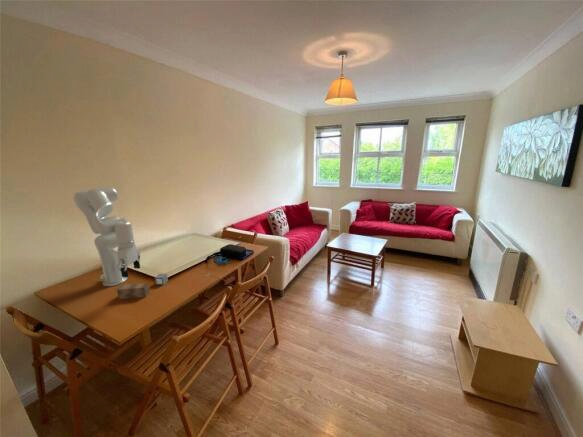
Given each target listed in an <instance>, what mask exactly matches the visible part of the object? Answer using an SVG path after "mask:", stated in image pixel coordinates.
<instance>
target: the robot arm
mask: <svg viewBox="0 0 583 437" xmlns="http://www.w3.org/2000/svg"><path fill="white" fill-rule="evenodd" d="M73 199H74V203H75V205H76V207H77V208H78V209H79V210H80V212H82V213H83V215H84V216H85V218H86V221H87V223H88V225H89V227H90V229H91V231H92V233H94V234H95V235H97V236H96V237H95V238H94V240H93V241H94V243H93V244H94V246H95V248H96V250H97V252H98V255H99V259H100V260H99V261H100V263H101V267H102V272H103V274H101V275H100V277H99V280H103V282H102V286H104V287H114V286H118V285H122V283H124V282H126V281H127V280H128V277H129V270H128V267H129V266H130V265H132V264H133V269H141V264H140V261H141V259H140V258H141V251H140V252H139V251H138V249H137V246H136V243H135V237H134V232H133V227H132V223H131V221H129V220H128V219H127V218H125V217H120V216H117V215H111V216H110V215H109V214H111V213H112V212H113V211H114V209H115V206H114V204H113V203H112V202H115V201H118V199H119V193H118V192H117V190H116V189H115V188H114V187H112V186H109V187H108V186H107V187H98V188H97V187H96V188H91V189H85V190H80V191H77V192H75V193H74V195H73ZM107 215H109V216H107ZM115 248H117V250H115Z"/></svg>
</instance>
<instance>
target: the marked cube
mask: <svg viewBox="0 0 583 437" xmlns="http://www.w3.org/2000/svg"><path fill="white" fill-rule="evenodd" d="M154 282H155V285H156V286H165V285H166V284H167V283H168V282H169V277H168V273H158V274H157V275H156V276H155V277H154Z"/></svg>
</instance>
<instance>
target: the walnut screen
mask: <svg viewBox="0 0 583 437" xmlns="http://www.w3.org/2000/svg"><path fill="white" fill-rule="evenodd" d="M116 293H117V297H118V300H124V299H125V300H128V299H137V298H138V299H139V298H146V297H147V296H148V295H149V294H150V286H149V283H148V282H146V283H143V282H142V283H133V284H120V286H119V287H118V288H117V290H116Z"/></svg>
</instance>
